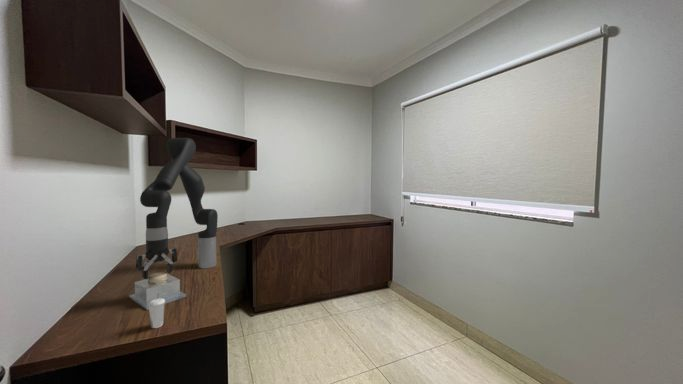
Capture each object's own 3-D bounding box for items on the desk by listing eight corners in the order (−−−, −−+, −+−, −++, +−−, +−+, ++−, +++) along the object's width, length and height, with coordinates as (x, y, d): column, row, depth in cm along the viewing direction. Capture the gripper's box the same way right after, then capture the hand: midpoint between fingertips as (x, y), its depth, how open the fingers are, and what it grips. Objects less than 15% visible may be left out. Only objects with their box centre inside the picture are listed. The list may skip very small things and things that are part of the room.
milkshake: (166, 319, 90) (166, 292, 90) (164, 327, 85) (164, 298, 85) (150, 323, 88) (150, 294, 88) (147, 331, 83) (147, 301, 83)
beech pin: (146, 294, 107) (145, 275, 106) (163, 289, 112) (163, 271, 112) (152, 298, 103) (152, 278, 103) (170, 292, 108) (169, 274, 108)
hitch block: (129, 297, 107) (129, 281, 106) (167, 286, 118) (166, 271, 118) (146, 310, 97) (146, 291, 96) (185, 296, 108) (185, 280, 108)
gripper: (171, 233, 114) (172, 269, 115) (132, 239, 103) (133, 279, 103) (179, 235, 110) (180, 272, 111) (139, 242, 98) (141, 283, 99)
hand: (157, 275), depth 107 cm, fingers open, 8 cm apart
